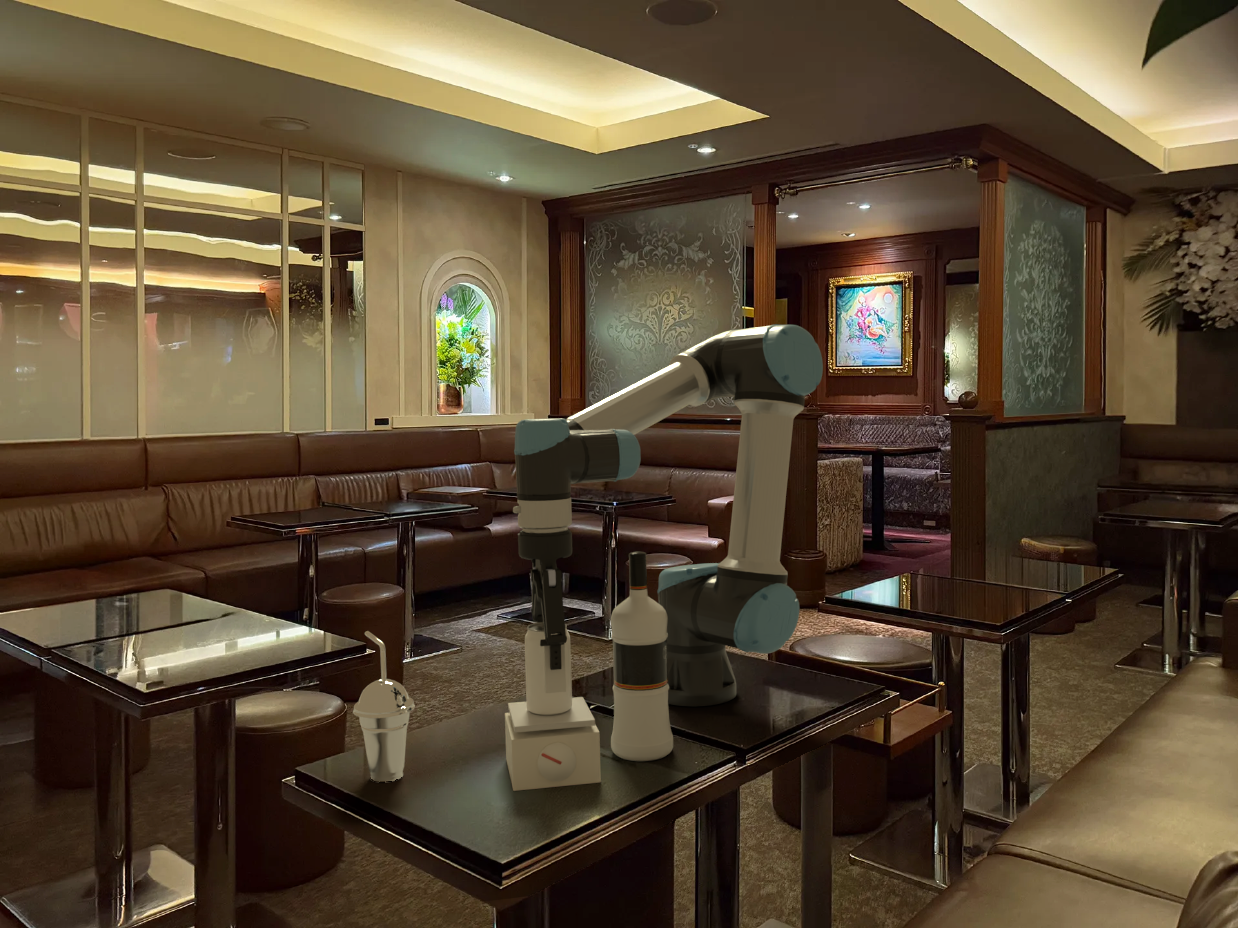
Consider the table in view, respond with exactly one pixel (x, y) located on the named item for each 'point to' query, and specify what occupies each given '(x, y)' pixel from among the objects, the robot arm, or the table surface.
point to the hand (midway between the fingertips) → (549, 678)
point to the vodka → (640, 672)
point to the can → (535, 676)
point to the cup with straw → (384, 722)
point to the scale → (552, 747)
